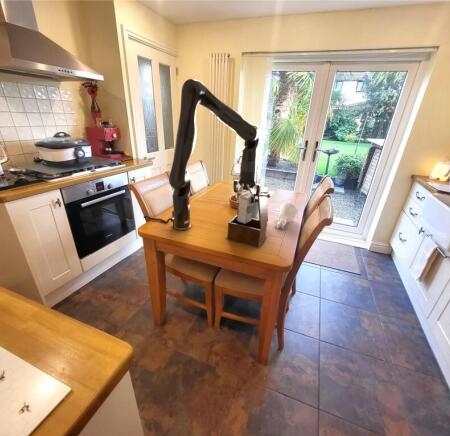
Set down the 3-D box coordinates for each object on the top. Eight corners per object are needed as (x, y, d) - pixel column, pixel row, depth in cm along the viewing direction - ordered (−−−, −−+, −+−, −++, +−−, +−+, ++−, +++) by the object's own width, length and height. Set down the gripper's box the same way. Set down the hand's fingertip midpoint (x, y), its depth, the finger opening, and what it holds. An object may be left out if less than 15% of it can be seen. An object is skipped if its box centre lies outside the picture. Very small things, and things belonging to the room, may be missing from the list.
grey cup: (257, 221, 146) (258, 204, 141) (241, 219, 148) (242, 202, 143) (258, 215, 155) (260, 198, 150) (243, 213, 157) (244, 196, 152)
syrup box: (242, 217, 127) (244, 192, 121) (251, 220, 124) (254, 194, 118) (236, 220, 123) (238, 194, 117) (245, 224, 120) (247, 197, 114)
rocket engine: (281, 215, 132) (290, 200, 144) (266, 222, 140) (276, 207, 152) (293, 231, 134) (301, 214, 146) (277, 237, 142) (286, 220, 154)
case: (227, 238, 126) (228, 222, 122) (236, 230, 135) (237, 214, 131) (258, 247, 119) (260, 230, 115) (265, 237, 129) (267, 221, 124)
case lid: (257, 193, 108) (268, 193, 106) (264, 187, 118) (275, 187, 115) (259, 229, 115) (269, 230, 112) (266, 220, 124) (276, 221, 122)
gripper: (264, 170, 112) (261, 202, 119) (237, 166, 118) (235, 197, 125) (259, 173, 106) (256, 207, 113) (231, 169, 112) (229, 201, 119)
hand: (245, 201), depth 119 cm, fingers closed on syrup box, 6 cm apart
